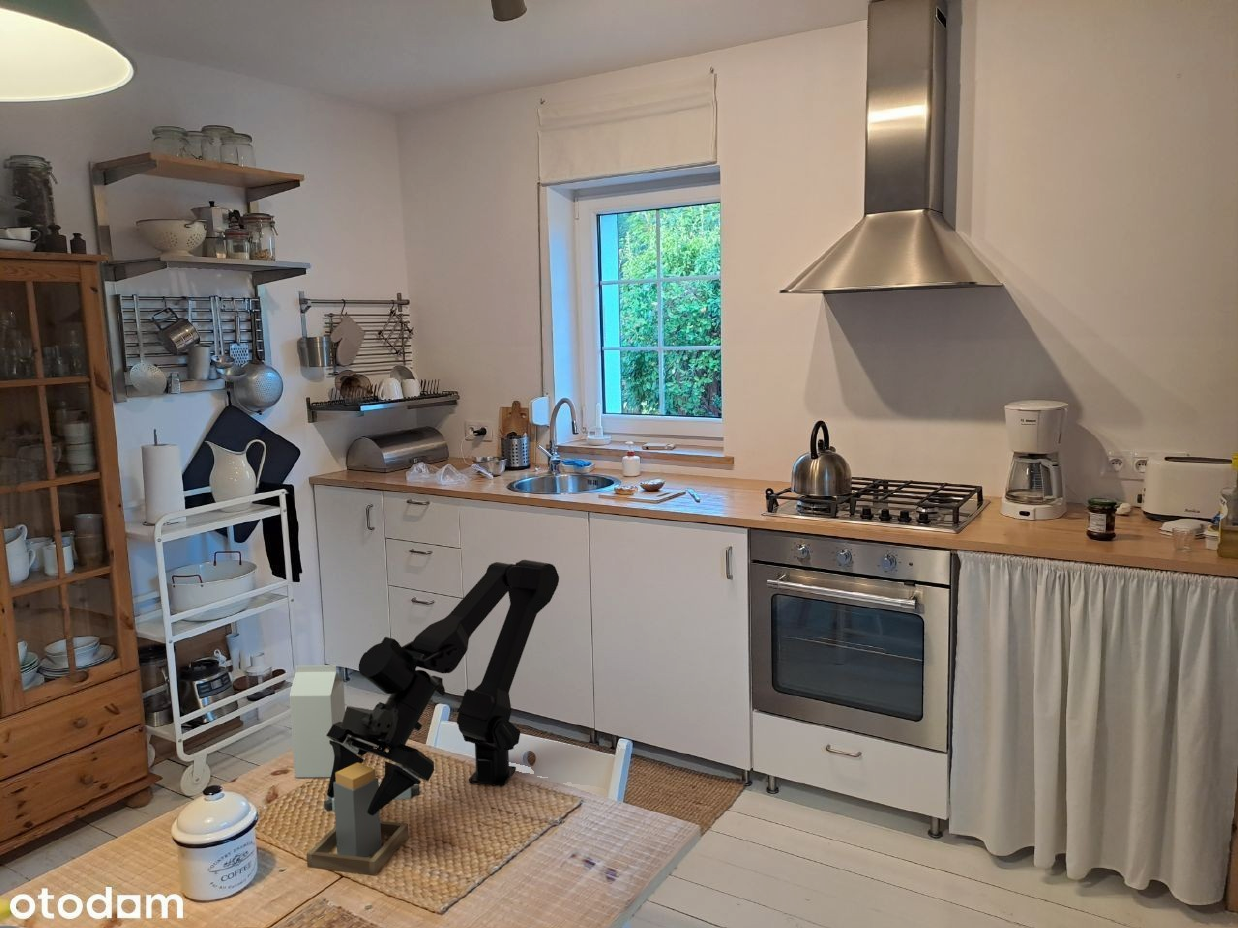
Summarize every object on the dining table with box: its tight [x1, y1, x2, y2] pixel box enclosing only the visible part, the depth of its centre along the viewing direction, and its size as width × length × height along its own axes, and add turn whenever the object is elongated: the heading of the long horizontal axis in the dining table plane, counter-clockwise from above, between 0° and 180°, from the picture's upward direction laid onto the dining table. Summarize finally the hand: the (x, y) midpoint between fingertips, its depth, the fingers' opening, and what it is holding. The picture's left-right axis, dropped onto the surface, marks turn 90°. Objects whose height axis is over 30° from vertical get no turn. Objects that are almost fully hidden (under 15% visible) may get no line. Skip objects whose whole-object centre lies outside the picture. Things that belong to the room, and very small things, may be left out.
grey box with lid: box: [333, 762, 383, 858], centre depth 132 cm, size 4×4×12 cm
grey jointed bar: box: [323, 780, 421, 813], centre depth 148 cm, size 4×15×2 cm, turn 110°
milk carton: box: [289, 664, 346, 778], centre depth 158 cm, size 7×7×19 cm
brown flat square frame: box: [306, 820, 410, 876], centre depth 133 cm, size 11×11×2 cm
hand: (349, 805), depth 131 cm, fingers open, 9 cm apart
